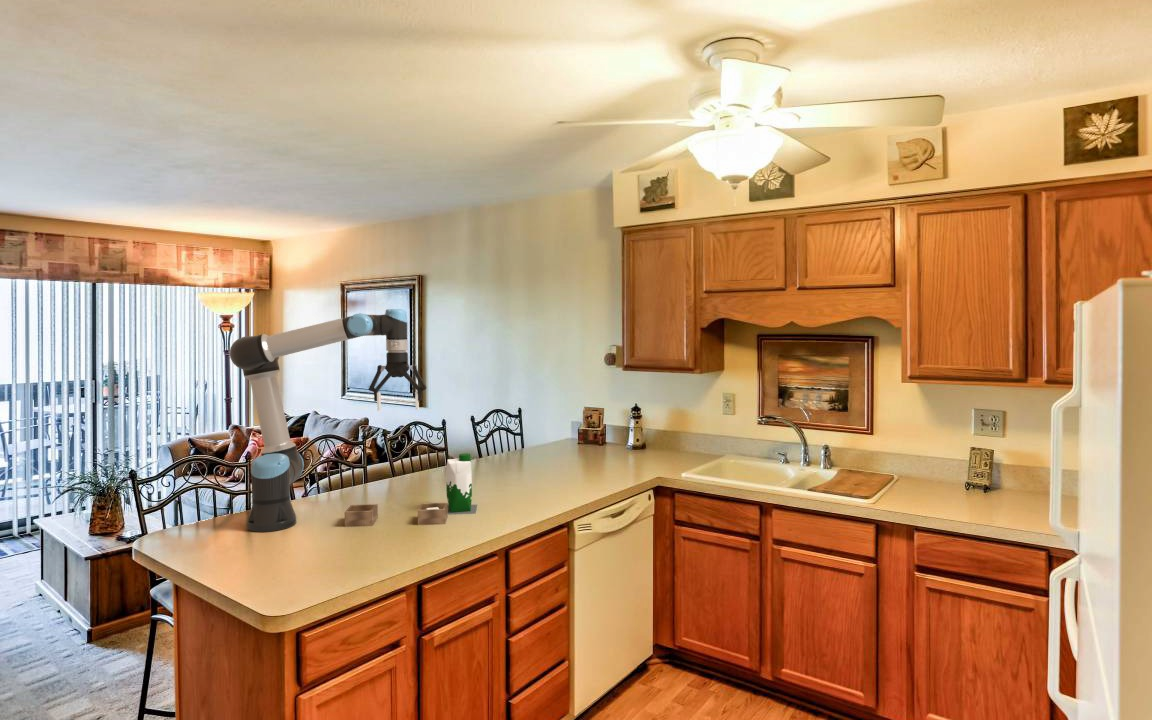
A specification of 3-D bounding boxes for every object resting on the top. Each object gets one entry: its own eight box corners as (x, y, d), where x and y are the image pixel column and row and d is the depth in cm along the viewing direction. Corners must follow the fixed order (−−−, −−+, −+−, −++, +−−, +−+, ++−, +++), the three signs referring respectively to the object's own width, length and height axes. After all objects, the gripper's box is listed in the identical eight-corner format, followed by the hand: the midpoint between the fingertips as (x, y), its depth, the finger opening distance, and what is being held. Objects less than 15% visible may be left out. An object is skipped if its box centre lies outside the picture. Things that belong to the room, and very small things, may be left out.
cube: (428, 522, 221) (427, 511, 221) (426, 519, 225) (426, 508, 225) (439, 521, 223) (439, 509, 223) (438, 518, 226) (437, 507, 226)
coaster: (441, 516, 231) (441, 514, 231) (444, 507, 243) (444, 505, 243) (475, 515, 232) (475, 513, 232) (477, 506, 244) (477, 504, 244)
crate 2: (417, 526, 219) (417, 510, 219) (421, 519, 228) (421, 503, 228) (445, 525, 220) (444, 509, 220) (447, 518, 229) (447, 502, 229)
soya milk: (473, 511, 235) (472, 456, 234) (447, 513, 232) (446, 457, 231) (470, 505, 243) (469, 452, 242) (445, 507, 241) (445, 453, 240)
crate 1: (344, 528, 218) (344, 512, 217) (351, 520, 227) (351, 505, 226) (372, 527, 219) (372, 511, 218) (378, 519, 228) (377, 504, 227)
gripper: (359, 352, 233) (360, 411, 234) (430, 351, 235) (431, 410, 236) (364, 351, 240) (365, 409, 241) (433, 351, 243) (434, 408, 244)
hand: (398, 410), depth 239 cm, fingers open, 13 cm apart
